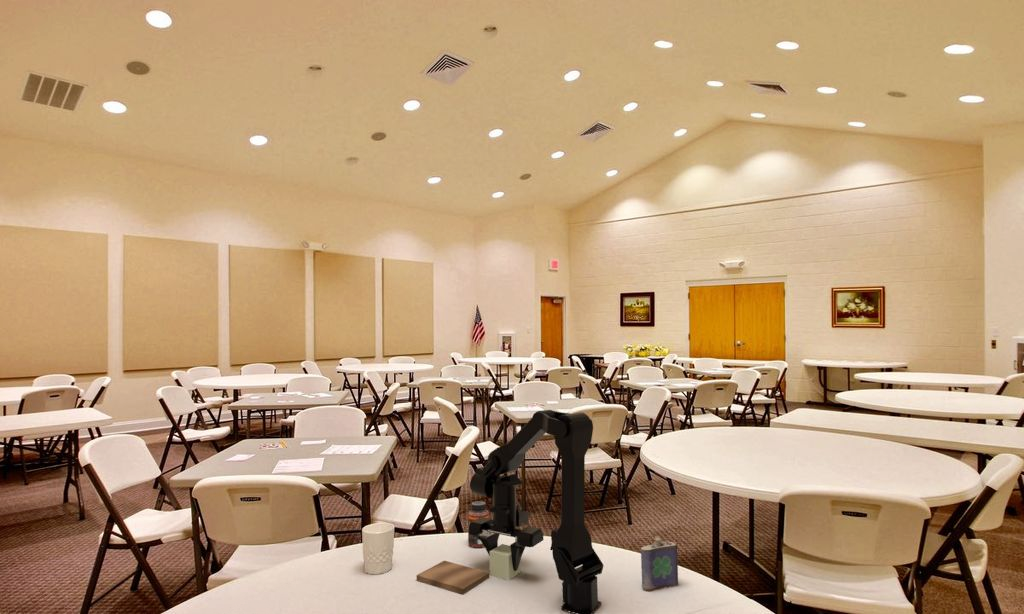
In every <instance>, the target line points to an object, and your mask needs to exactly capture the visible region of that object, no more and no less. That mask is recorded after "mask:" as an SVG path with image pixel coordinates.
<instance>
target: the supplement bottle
mask: <svg viewBox="0 0 1024 614" xmlns="http://www.w3.org/2000/svg"><path fill="white" fill-rule="evenodd" d="M486 504H487V503H486V502H485V501H482V500H480V501H472V502H471V509H469V511H468V514H467V518H468V519H467V521H468V522H467V526H469V524H470V522H471V521H473V520H476V519H478V518H480V517H484V518H489V519H490V510H487V505H486ZM467 534H468V535H467V539H468V541H467V543H468V545H469V546H470V547H472V548H476V549H477V548H478V549H479V548H485V547H484V545H483V544H482V542H481V540H479V539H478V537H479V536H480V534H479V535H478V536H475V535H471V534H469V533H467Z"/></svg>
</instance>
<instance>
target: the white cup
mask: <svg viewBox="0 0 1024 614" xmlns="http://www.w3.org/2000/svg"><path fill="white" fill-rule="evenodd" d="M361 536H362V537H361V539H362V554H363V555H362V558H363V570H364V573H366V574H368V575H381V573H382V574H384V572H385V573H387V572H389V571H390V569H391V570H392V568H393V556H394V546H395V545H394V544H395V543H394V542H395V541H394V540H395V525H394V524H393V523H391V522H375V523H370V524H368V525H364V527H362V529H361Z"/></svg>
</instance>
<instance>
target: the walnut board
mask: <svg viewBox="0 0 1024 614" xmlns="http://www.w3.org/2000/svg"><path fill="white" fill-rule="evenodd" d="M488 579H490V571H485V570H482V569H478V568H474V567H470V566H466V565H462V564H458V563H456V562H452V561H447V560H443V561H441V562H439V563H437V564H435V565H433V566H430V567H429V568H428V569H425V570H424V571H422V572H419V573H418V574H416V581H417V582H420V583H423V582H424V584H427V585H430V586H434V587H437V588H440V589H442V590H443V589H444V590H447V591H450V592H454V593H457V594H460V595H465V594H466V593H468V592H469V591H470V590H471V591H472V589H474V588H475V587H478V586H479V585H480V584H482V583H484V582H485V581H486V580H488Z"/></svg>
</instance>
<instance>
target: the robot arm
mask: <svg viewBox="0 0 1024 614" xmlns="http://www.w3.org/2000/svg"><path fill="white" fill-rule="evenodd" d="M593 431H594V423H593V420H592V419H591V418H590V417H589V415H587V414H586V413H585V412H576V413H575V412H574V413H569V412H561V411H555V410H553V409H544V410H537V411H536V412H534V413H533V415H532V417H531V418H530V419H529V420H528V421H527V422H526V424H524V426H523V427H522V428H521V429H520V430H519V431H518V432H517V433H516V434H515V435H514V436H513V437H512V438H511V439H510V440H509V441H508V442H507V443H505V444H503V445H500V446H498V447H496V448H495V449H493V450H492V451H490V453H489V454H488V456H487V460H486V462H485V465H484V466H480V467H476V469H475V473H474V474H473V475H472V476H471V478H470V482H469V489H470V490H471V493H473V494H475V495H478V496H482V497H485V498H489V499H492V506H490V507H489V513H492V518H490V517H489V518H484V517H480V518H478V519H476V520H473V521H471V522H470V524H469V526H468V525H467V526H468V527H467V528H468V529H467V530H468V531H467V532H468V533H469V534H471V535H475V536H478V535H479V534H480V536H479V537H478V539H479V540H481V542H482V544H483V545H484V547H483V548H484V549H485V550H486V552H487V554H488V556H489V558H490V551H491V550H493V549H494V548H496V547H498V546H499V544H498V542H499V537H500V536H507V537H512V538H515V539H514V541H515V542H513V543H511V544H509V546H510V547H511V555H512V564H513V569H514V571H516V570H517V569H518V567H519V563H520V560H521V561H522V557H523V553H524V551H525V549H526V548H534V547H535V546H536V545H538V544H539V543H541V542H542V541H544V531H543V530H542V528H541V527H535V526H531V525H529V519H530V513H531V512H529V511H528V510H527V511H526V510H523V509H522V510H521V508H520V504H518V503H517V486H520V485H522V484H523V482H522V480H521V478H519V477H518V476H517V474H516V473H514V474H510V473H513V472H516V471H518V470H519V468H520V467H521V465H522V464H523V462H524V459H525V457H524V456H525V455H526V453H527V452H528V451H529V450H530V449H532V448H533V446H534V445H536V443H538V442H539V441H540V439H542V437H543V436H544V435H545V434H547V435H551V436H553V437H554V438H553V439H554V443H555V445H556V448H557V450H558V452H559V453H560V456H561V477H560V479H561V483H560V484H561V489H560V490H561V494H560V495H561V496H560V497H561V500H560V501H561V503H560V504H561V505H560V507H561V508H560V511H561V512H560V517H561V518H560V520H561V521H560V525H559V526H558V528H555V529H552V530H551V533H550V538H551V539H550V541H551V544H550V545H551V546H550V551H552V560H553V561H554V565H555V568H556V572H557V576H558V579H559V580H560V581H562V582H561V585H562V589H561V590H562V603H563V604H562V605H561V606H560V609H561V610H562V611H565V610H566V611H565V612H568V611H570V612H569V613H572V612H575V613H578V614H594V613H595V612H596V611H597V610H598V609H599V608H600V607H601V605H602V601H600V600H599V594H598V587H599V586H598V575H601V574H603V569H604V564H603V562H602V561H601V559H600V557H599V556H598V554H597V552H596V551H595V549H594V548H593V543H592V536H591V532H589V530H588V527H587V526H586V523H585V482H586V481H585V474H586V473H585V469H586V467H585V466H586V464H585V457H586V454H587V451H588V450H589V448H590V446H591V444H592V440H593V439H592V438H593ZM508 473H509V474H510V475H504V474H508ZM522 525H525V526H526V527H525V528H522V529H519V528H520V527H522ZM468 533H467V534H468ZM575 613H574V614H575Z"/></svg>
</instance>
